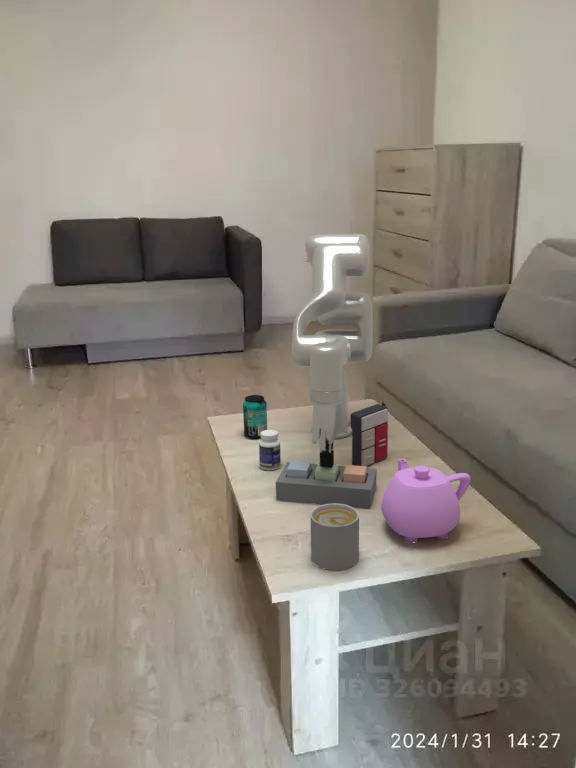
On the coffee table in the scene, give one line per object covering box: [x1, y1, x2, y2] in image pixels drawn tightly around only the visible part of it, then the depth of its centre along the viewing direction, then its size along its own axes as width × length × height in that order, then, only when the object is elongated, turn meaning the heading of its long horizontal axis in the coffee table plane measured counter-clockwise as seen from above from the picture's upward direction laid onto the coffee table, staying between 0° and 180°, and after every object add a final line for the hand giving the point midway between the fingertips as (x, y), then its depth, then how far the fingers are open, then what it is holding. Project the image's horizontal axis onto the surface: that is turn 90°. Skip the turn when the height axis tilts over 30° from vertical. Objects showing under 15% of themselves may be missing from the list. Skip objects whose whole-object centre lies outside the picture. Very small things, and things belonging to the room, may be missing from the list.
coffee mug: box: [310, 503, 360, 571], centre depth 148 cm, size 13×10×10 cm
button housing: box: [275, 461, 377, 510], centre depth 175 cm, size 12×23×5 cm, turn 77°
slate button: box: [287, 460, 312, 479], centre depth 176 cm, size 5×5×5 cm
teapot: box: [380, 458, 472, 544], centre depth 158 cm, size 20×20×15 cm
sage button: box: [315, 462, 340, 481], centre depth 174 cm, size 5×5×5 cm
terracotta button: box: [343, 464, 368, 484], centre depth 173 cm, size 5×5×5 cm
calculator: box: [350, 403, 389, 467], centre depth 191 cm, size 11×4×15 cm, turn 131°
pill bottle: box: [258, 429, 282, 471], centre depth 190 cm, size 6×6×10 cm
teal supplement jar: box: [242, 394, 268, 440], centre depth 212 cm, size 7×7×12 cm
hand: (326, 465), depth 173 cm, fingers closed
